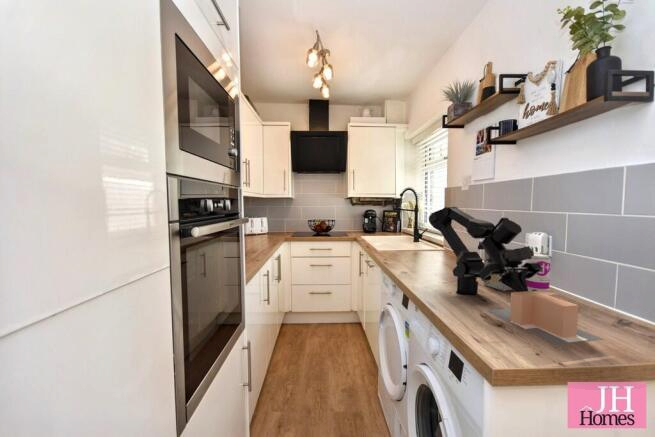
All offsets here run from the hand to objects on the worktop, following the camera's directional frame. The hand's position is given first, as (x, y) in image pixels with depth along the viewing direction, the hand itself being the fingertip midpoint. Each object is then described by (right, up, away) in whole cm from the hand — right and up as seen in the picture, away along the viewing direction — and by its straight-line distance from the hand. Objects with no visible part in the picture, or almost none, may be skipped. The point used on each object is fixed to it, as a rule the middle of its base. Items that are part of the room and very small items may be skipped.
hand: (527, 296), depth 79 cm
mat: (+1, -7, -3) cm, 8 cm away
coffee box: (+12, -6, +32) cm, 35 cm away
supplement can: (+21, -6, +24) cm, 33 cm away
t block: (+1, -7, -6) cm, 9 cm away
